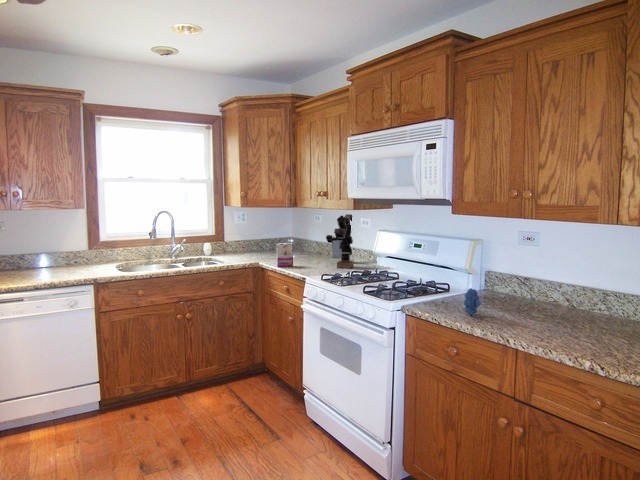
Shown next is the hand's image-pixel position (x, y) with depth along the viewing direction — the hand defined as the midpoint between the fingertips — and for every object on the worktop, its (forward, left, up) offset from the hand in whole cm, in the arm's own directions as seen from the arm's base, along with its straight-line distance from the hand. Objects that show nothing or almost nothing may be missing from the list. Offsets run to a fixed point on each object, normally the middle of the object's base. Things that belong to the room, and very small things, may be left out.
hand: (336, 248), depth 310 cm
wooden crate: (-5, +4, -13) cm, 15 cm away
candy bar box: (+21, -30, -14) cm, 39 cm away
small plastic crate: (-1, 0, -7) cm, 7 cm away
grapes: (+59, +120, -14) cm, 135 cm away
